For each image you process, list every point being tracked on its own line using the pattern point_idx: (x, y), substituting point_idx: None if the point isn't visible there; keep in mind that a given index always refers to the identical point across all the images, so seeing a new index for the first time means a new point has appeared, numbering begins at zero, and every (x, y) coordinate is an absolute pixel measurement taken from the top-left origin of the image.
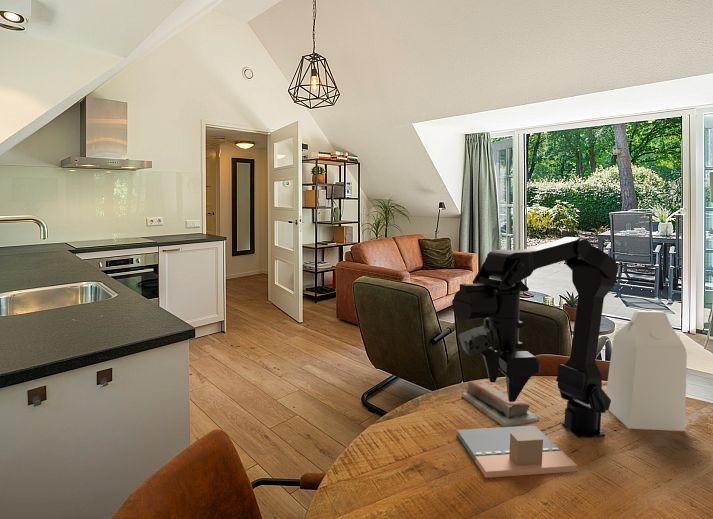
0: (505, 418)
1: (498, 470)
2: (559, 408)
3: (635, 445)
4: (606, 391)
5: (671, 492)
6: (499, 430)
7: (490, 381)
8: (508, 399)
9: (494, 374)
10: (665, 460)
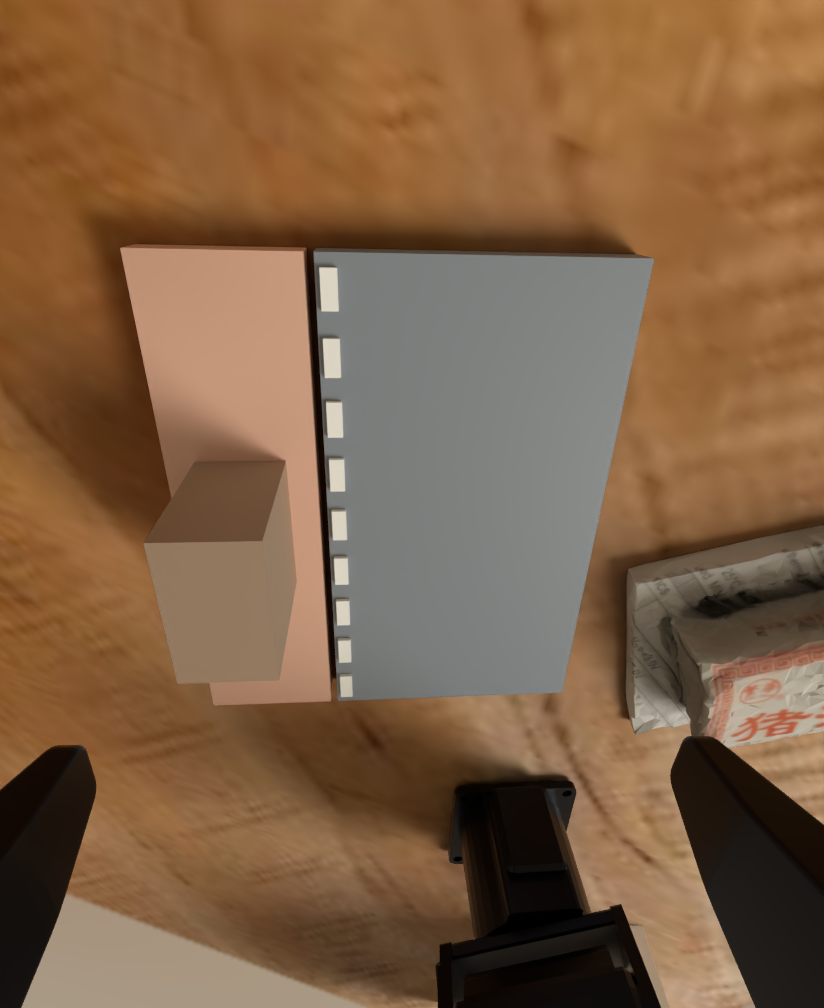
0: (673, 602)
1: (141, 338)
2: None
3: (380, 892)
4: (663, 998)
5: (112, 856)
6: (563, 524)
7: (692, 744)
8: (65, 759)
9: (730, 881)
10: (288, 913)
